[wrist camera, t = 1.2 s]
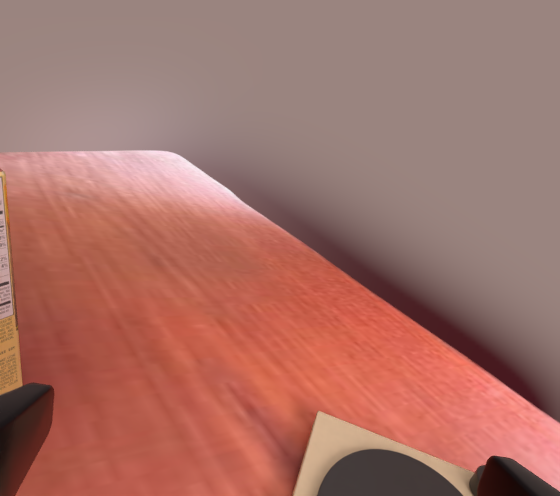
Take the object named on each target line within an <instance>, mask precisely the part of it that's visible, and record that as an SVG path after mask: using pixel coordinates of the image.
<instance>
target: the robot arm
mask: <svg viewBox="0 0 560 496" xmlns="http://www.w3.org/2000/svg"><path fill="white" fill-rule="evenodd" d="M53 403H54V388H53V387H52V386H51V385H46V384H39V383H29V384H26V385H24V386H21V387H19V388H16V389H14V390H12V391H9V392H7V393H4V394H2V395H0V496H15V495H16V493H17V491H18V489H19V487H20V485H21V484H22V482H23V480H24V478H25V476H26V474H27V472H28V471H29V469H30V467H31V465H32V463H33V461H34V460H35V458H36V456H37V454H38V452H39V450H40V449H41V447H42V445H43V443H44V441H45V439H46V437H47V436H48V433H49V431H50V428H51V424H52V416H53ZM477 496H560V492H559V491H558V490H556V489H555V488H553V487H552V486H551V485H549V484H548V483H546V482H545V481H543V480H542V479H540V478H539V477H538V476H536V475H535V474H533V473H532V472H530V471H529V470H527V469H526V468H525V467H523V466H522V465H520V464H519V463H517V462H516V461H514V460H513V459H510V458H506V457H500V456H491V457H490V458H489V459H488V460H487V463H486V465H485V468H484V470H483V473H482V476H481V478H480V481H479V483H478V486H477Z"/></svg>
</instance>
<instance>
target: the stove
mask: <svg viewBox="0 0 560 496" xmlns="http://www.w3.org/2000/svg"><path fill="white" fill-rule="evenodd" d="M484 468H485V465H483V466H480V467H478V468H477V470H476V471H475V473H474V472H472V471H469V470H467V469H464V468H461V467H459V466H456V465H454V464H451V463H449V462H446V461H444V460H441V459H439V458H436V457H434V456H431V455H429V454H426V453H424V452H421V451H419V450H416V449H414V448H411V447H409V446H406V445H404V444H401V443H399V442H396V441H394V440H391V439H388V438H386V437H383V436H381V435H378V434H376V433H373V432H371V431H368V430H366V429H363V428H361V427H358V426H356V425H353V424H351V423H348V422H346V421H343V420H341V419H338V418H336V417H333V416H331V415H328V414H326V413H323V412H321V411H318V412H317V415H316V418H315V420H314V423H313V426H312V430H311V433H310V436H309V440H308V443H307V447H306V450H305V453H304V457H303V460H302V463H301V467H300V470H299V474H298V477H297V480H296V484H295V487H294V491H293V494H292V496H477V486H478V483H479V481H480V478H481V476H482V473H483V470H484Z"/></svg>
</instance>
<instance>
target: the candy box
mask: <svg viewBox="0 0 560 496" xmlns="http://www.w3.org/2000/svg"><path fill="white" fill-rule="evenodd" d="M21 386H23V384H22V372H21V361H20V346H19V333H18V321H17V309H16V297H15V285H14V274H13V261H12V250H11V237H10V224H9V213H8V202H7V189H6V175H5V172H4V171H3V170H1V169H0V395H2V394H4V393H7V392H9V391H12V390H14V389H16V388H19V387H21Z"/></svg>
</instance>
